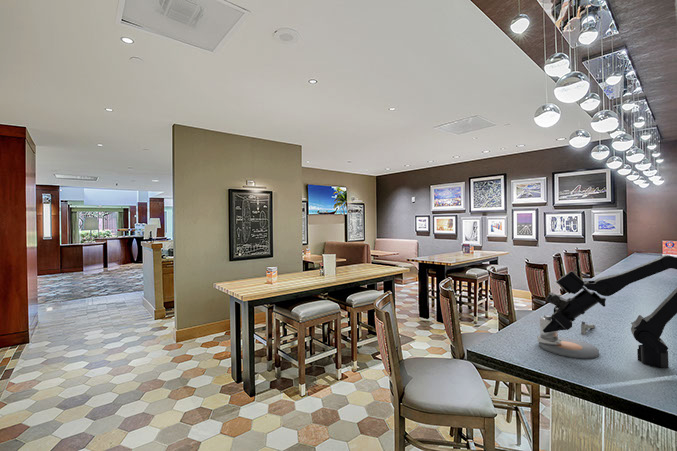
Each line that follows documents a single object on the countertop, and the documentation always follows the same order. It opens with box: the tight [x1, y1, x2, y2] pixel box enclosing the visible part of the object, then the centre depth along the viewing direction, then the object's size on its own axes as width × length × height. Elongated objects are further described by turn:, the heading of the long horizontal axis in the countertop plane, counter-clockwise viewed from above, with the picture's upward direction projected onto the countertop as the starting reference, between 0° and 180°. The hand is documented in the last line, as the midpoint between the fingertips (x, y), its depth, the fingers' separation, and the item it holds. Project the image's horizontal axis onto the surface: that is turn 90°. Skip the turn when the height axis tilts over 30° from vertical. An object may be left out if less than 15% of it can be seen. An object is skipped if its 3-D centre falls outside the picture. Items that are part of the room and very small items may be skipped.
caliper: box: [580, 321, 596, 335], centre depth 138 cm, size 20×1×6 cm, turn 130°
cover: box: [536, 314, 561, 346], centre depth 119 cm, size 8×8×10 cm
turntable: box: [538, 336, 600, 359], centre depth 116 cm, size 18×18×1 cm
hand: (544, 328), depth 120 cm, fingers open, 9 cm apart
